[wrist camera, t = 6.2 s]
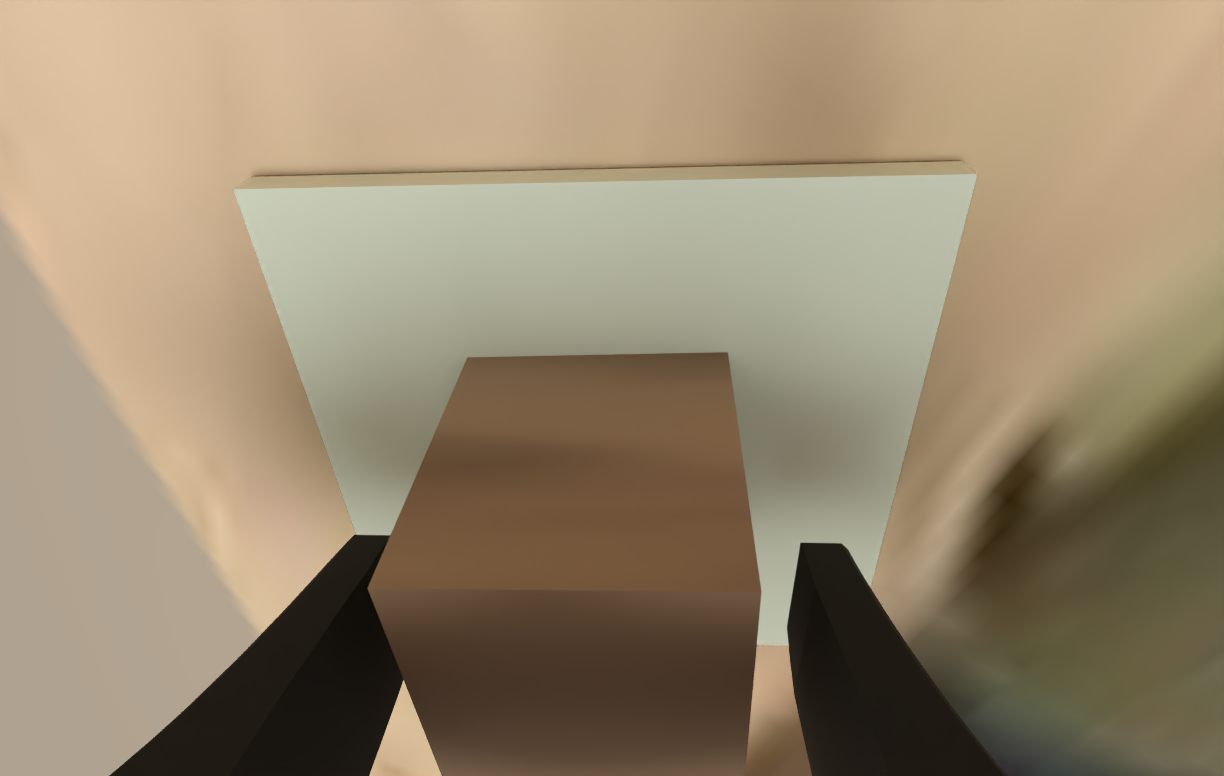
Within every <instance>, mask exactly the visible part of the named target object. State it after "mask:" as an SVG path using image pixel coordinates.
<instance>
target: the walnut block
mask: <svg viewBox="0 0 1224 776" xmlns="http://www.w3.org/2000/svg"><path fill="white" fill-rule="evenodd" d="M367 589H368V591H369V594H370V596H371V599H372V601H373V604H374V606H375V609H376V611H377V614H378V616H379V619H380V621H381V624H382V626H383V629H384V631H385V634H386V636H387V639H388V641H389V644H390V646H391V649H392V651H393V654H394V656H395V659H396V661H397V664H398V666H399V669H400V672H401V674H402V677H403V679H404V682H405V684H406V687H407V689H408V692H409V694H410V697H411V699H412V702H413V704H414V707H415V709H416V712H417V714H418V717H419V719H420V722H421V724H422V727H423V729H424V732H425V734H426V737H427V739H428V742H429V744H430V747H431V749H432V752H433V755H434V757H435V760H436V762H437V765H438V767H439V770H440V772H441V775H442V776H745V767H746V756H747V745H748V734H749V723H750V712H751V701H752V690H753V679H754V668H755V657H756V647H757V636H758V625H759V614H760V603H761V585H760V578H759V571H758V564H757V556H756V549H755V542H754V535H753V528H752V521H751V514H750V507H749V500H748V492H747V485H746V478H745V471H744V464H743V457H742V450H741V443H740V436H739V428H738V421H737V414H736V407H735V400H734V393H733V386H732V379H731V371H730V364H729V357H728V352H713V353H662V354H612V355H562V356H512V357H467V359H466V362H465V364H464V366H463V369H462V371H461V373H460V376H459V378H458V380H457V382H456V385H455V387H454V389H453V392H452V394H451V396H450V399H449V401H448V403H447V406H446V408H445V410H444V413H443V415H442V417H441V419H440V422H439V424H438V426H437V429H436V431H435V433H434V436H433V438H432V440H431V443H430V445H429V447H428V450H427V452H426V454H425V456H424V459H423V461H422V463H421V466H420V468H419V470H418V473H417V475H416V477H415V480H414V482H413V484H412V486H411V489H410V491H409V493H408V496H407V498H406V500H405V503H404V505H403V507H402V510H401V512H400V514H399V517H398V519H397V521H396V523H395V526H394V528H393V530H392V533H391V535H390V537H389V540H388V542H387V544H386V547H385V549H384V551H383V554H382V556H381V558H380V560H379V563H378V565H377V567H376V570H375V572H374V574H373V577H372V579H371V581H370V584H369V586H368V588H367Z"/></svg>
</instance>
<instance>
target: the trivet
mask: <svg viewBox="0 0 1224 776" xmlns="http://www.w3.org/2000/svg"><path fill="white" fill-rule="evenodd" d="M977 175H978V174H977V173H976V172H975V171H974V170H973V169H971V168H970V167H969V166H968V165H967V164H966V163H964V162H963V161H942V162H896V163H850V164H805V165H759V166H714V167H668V168H623V169H577V170H531V171H486V172H440V173H395V174H349V175H304V176H258V177H251V178H249V179H248V180H246V181H245V182H243V183H242V184H240V185H239V186H237V187H236V188H234V189H233V191H234V194H235V197H236V199H237V202H238V205H239V208H240V211H241V213H242V216H243V219H244V222H245V225H246V227H247V230H248V233H249V236H250V239H251V241H252V244H253V247H254V250H255V253H256V255H257V258H258V261H259V264H260V267H261V269H262V272H263V275H264V278H265V281H266V283H267V286H268V289H269V292H270V295H271V297H272V300H273V303H274V306H275V309H276V311H277V314H278V317H279V320H280V323H281V325H282V328H283V331H284V334H285V337H286V339H287V342H288V345H289V348H290V351H291V353H292V356H293V359H294V362H295V365H296V367H297V370H298V373H299V376H300V379H301V381H302V384H303V387H304V390H305V393H306V395H307V398H308V401H309V404H310V407H311V409H312V412H313V415H314V418H315V421H316V423H317V426H318V429H319V432H320V435H321V437H322V440H323V443H324V446H325V449H326V451H327V454H328V457H329V460H330V463H331V465H332V468H333V471H334V474H335V477H336V479H337V482H338V485H339V488H340V491H341V493H342V496H343V499H344V502H345V505H346V507H347V510H348V513H349V516H350V519H351V521H352V524H353V527H354V530H355V533H356V535H391V533H392V530H393V528H394V526H395V523H396V521H397V519H398V517H399V514H400V512H401V510H402V507H403V505H404V503H405V500H406V498H407V496H408V493H409V491H410V489H411V486H412V484H413V482H414V480H415V477H416V475H417V473H418V470H419V468H420V466H421V463H422V461H423V459H424V456H425V454H426V452H427V450H428V447H429V445H430V443H431V440H432V438H433V436H434V433H435V431H436V429H437V426H438V424H439V422H440V419H441V417H442V415H443V413H444V410H445V408H446V406H447V403H448V401H449V399H450V396H451V394H452V392H453V389H454V387H455V385H456V382H457V380H458V378H459V376H460V373H461V371H462V369H463V366H464V364H465V362H466V359H467V357H512V356H562V355H612V354H662V353H713V352H728V357H729V364H730V371H731V379H732V386H733V393H734V400H735V407H736V414H737V421H738V428H739V436H740V443H741V450H742V457H743V464H744V471H745V478H746V485H747V492H748V500H749V507H750V514H751V521H752V528H753V535H754V542H755V549H756V556H757V564H758V571H759V578H760V585H761V603H760V614H759V625H758V636H757V645H781V646H789V644H788V634H787V623H788V617H789V610H790V604H791V598H792V592H793V586H794V580H795V574H796V567H797V561H798V555H799V549H800V543H842V544H843V545H844V546H845V547H846V548H847V549H848V550H849V552H850V554H851V556H852V557H853V559H854V561H855V563H856V564H857V566H858V568H859V569H860V571H861V573H862V575H863V576H864V578H865V580H866V581H867V583H868V585H869V586H870V588H871V584H872V580H873V576H874V572H875V569H876V565H877V561H878V557H879V553H880V549H881V545H882V542H883V538H884V534H885V530H886V526H887V522H888V518H889V515H890V511H891V507H892V503H893V499H894V495H895V491H896V488H897V484H898V480H899V476H900V472H901V468H902V464H903V460H904V457H905V453H906V449H907V445H908V441H909V437H910V433H911V430H912V426H913V422H914V418H915V414H916V410H917V406H918V403H919V399H920V395H921V391H922V387H923V383H924V379H925V376H926V372H927V368H928V364H929V360H930V356H931V352H932V348H933V345H934V341H935V337H936V333H937V329H938V325H939V321H940V318H941V314H942V310H943V306H944V302H945V298H946V294H947V291H948V287H949V283H950V279H951V275H952V271H953V267H954V264H955V260H956V256H957V252H958V248H959V244H960V240H961V236H962V233H963V229H964V225H965V221H966V217H967V213H968V209H969V206H970V202H971V198H972V194H973V190H974V186H975V182H976V179H977Z"/></svg>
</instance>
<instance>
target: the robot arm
mask: <svg viewBox="0 0 1224 776" xmlns="http://www.w3.org/2000/svg"><path fill="white" fill-rule="evenodd" d="M389 537H390V535H354V536H353V537H352V538H351V539H350V540H349V541H348V542H347V543H346V544H345V545H344V546H343V547H342V548H341V549H340V550H339V551H338V553H337V554H336V555H335V556H334V557H333V558H332V559H331V560H330V561H329V562H328V563H327V565H326V566H325V567H324V568H323V569H322V570H321V571H320V572H319V573H318V574H317V575H316V577H315V578H314V579H313V580H312V581H311V582H310V583H309V584H308V585H307V586H306V587H305V589H304V590H303V591H302V592H301V593H300V594H299V595H298V596H297V597H296V598H295V599H294V600H293V601H292V603H291V604H290V605H289V606H288V607H287V608H286V609H285V610H284V611H283V612H282V613H281V614H280V615H279V616H278V617H277V618H276V619H275V620H274V622H273V623H272V624H271V625H270V626H269V627H268V628H267V629H266V630H265V631H264V632H263V633H262V634H261V635H260V636H259V637H258V638H257V639H256V640H255V641H254V642H253V643H252V644H251V646H250V647H249V648H248V649H247V650H246V651H245V652H244V653H243V654H242V655H241V656H240V657H239V658H238V659H237V660H236V661H235V662H234V663H233V664H232V665H231V666H230V667H229V668H228V669H226V670H225V671H224V672H223V673H222V674H221V675H220V676H219V677H218V678H217V679H216V680H215V681H214V682H213V683H212V684H211V685H210V686H209V687H208V688H207V689H206V690H205V691H204V692H203V693H202V694H201V695H200V696H199V697H198V698H196V699H195V701H194V702H192V703H191V704H190V705H189V706H188V707H187V708H186V709H185V710H184V711H183V712H182V713H181V714H180V715H178V716H177V717H176V718H175V719H174V720H173V721H172V722H171V723H170V724H169V725H167V726H166V727H165V728H164V729H163V730H162V731H161V732H160V733H159V734H158V735H156V736H155V737H154V738H153V739H152V740H151V741H149V742H148V743H147V744H146V745H145V746H144V747H143V748H141V749H140V750H139V751H138V752H137V753H136V754H134V755H133V756H132V757H131V758H130V759H129V760H127V761H126V762H125V763H124V764H123V765H122V766H120V767H119V768H118V769H117V770H116V771H114V772H113V773H112V774H111V775H110V776H369V774H370V771H371V769H372V766H373V763H374V760H375V758H376V755H377V752H378V750H379V747H380V744H381V741H382V739H383V736H384V733H385V730H386V728H387V725H388V722H389V719H390V716H391V714H392V711H393V708H394V705H395V702H396V700H397V697H398V694H399V691H400V688H401V685H402V682H403V677H402V674H401V672H400V669H399V666H398V664H397V661H396V659H395V656H394V654H393V651H392V649H391V646H390V644H389V641H388V639H387V636H386V634H385V631H384V629H383V626H382V624H381V621H380V619H379V616H378V614H377V611H376V609H375V606H374V604H373V601H372V599H371V596H370V594H369V591H368V589H367V588H368V586H369V584H370V581H371V579H372V577H373V574H374V572H375V570H376V567H377V565H378V563H379V560H380V558H381V556H382V554H383V551H384V549H385V547H386V544H387V542H388V540H389ZM787 634H788V644H789V653H790V662H791V671H792V679H793V687H794V695H795V699H796V704H797V709H798V713H799V718H800V722H801V727H802V732H803V736H804V741H805V745H806V750H807V754H808V759H809V763H810V768H811V772H812V776H1006V774H1005V773H1004V772H1003V771H1002V770H1001V768H1000V767H999V766H998V765H997V764H996V762H995V761H994V760H993V759H992V757H991V756H990V755H989V754H988V752H987V751H986V750H985V749H984V747H983V746H982V745H981V744H980V743H979V741H978V740H977V739H976V737H975V736H974V735H973V734H972V732H971V731H970V730H969V728H968V727H967V726H966V725H965V723H964V722H963V721H962V719H961V718H960V717H959V716H958V714H957V713H956V712H955V710H954V709H953V708H952V706H951V705H950V704H949V702H948V701H947V700H946V698H945V697H944V696H943V694H942V693H941V692H940V690H939V689H938V688H937V686H936V685H935V683H934V682H933V681H932V679H931V678H930V676H929V675H928V673H927V672H926V671H925V669H924V668H923V666H922V665H921V664H920V662H919V661H918V659H917V658H916V656H915V655H914V654H913V652H912V651H911V649H910V648H909V646H908V645H907V644H906V642H905V641H904V639H903V638H902V636H901V635H900V633H899V632H898V630H897V629H896V627H895V626H894V624H893V623H892V621H891V620H890V618H889V616H888V615H887V613H886V612H885V610H884V609H883V607H882V606H881V604H880V602H879V601H878V599H877V598H876V596H875V594H874V593H873V591H872V590H871V588H870V586H869V585H868V583H867V581H866V580H865V578H864V576H863V575H862V573H861V571H860V569H859V568H858V566H857V564H856V563H855V561H854V559H853V557H852V556H851V554H850V552H849V550H848V549H847V548H846V547H845V546H844V545H843V544H842V543H800V549H799V555H798V561H797V567H796V574H795V580H794V586H793V592H792V598H791V604H790V610H789V617H788V623H787Z"/></svg>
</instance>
